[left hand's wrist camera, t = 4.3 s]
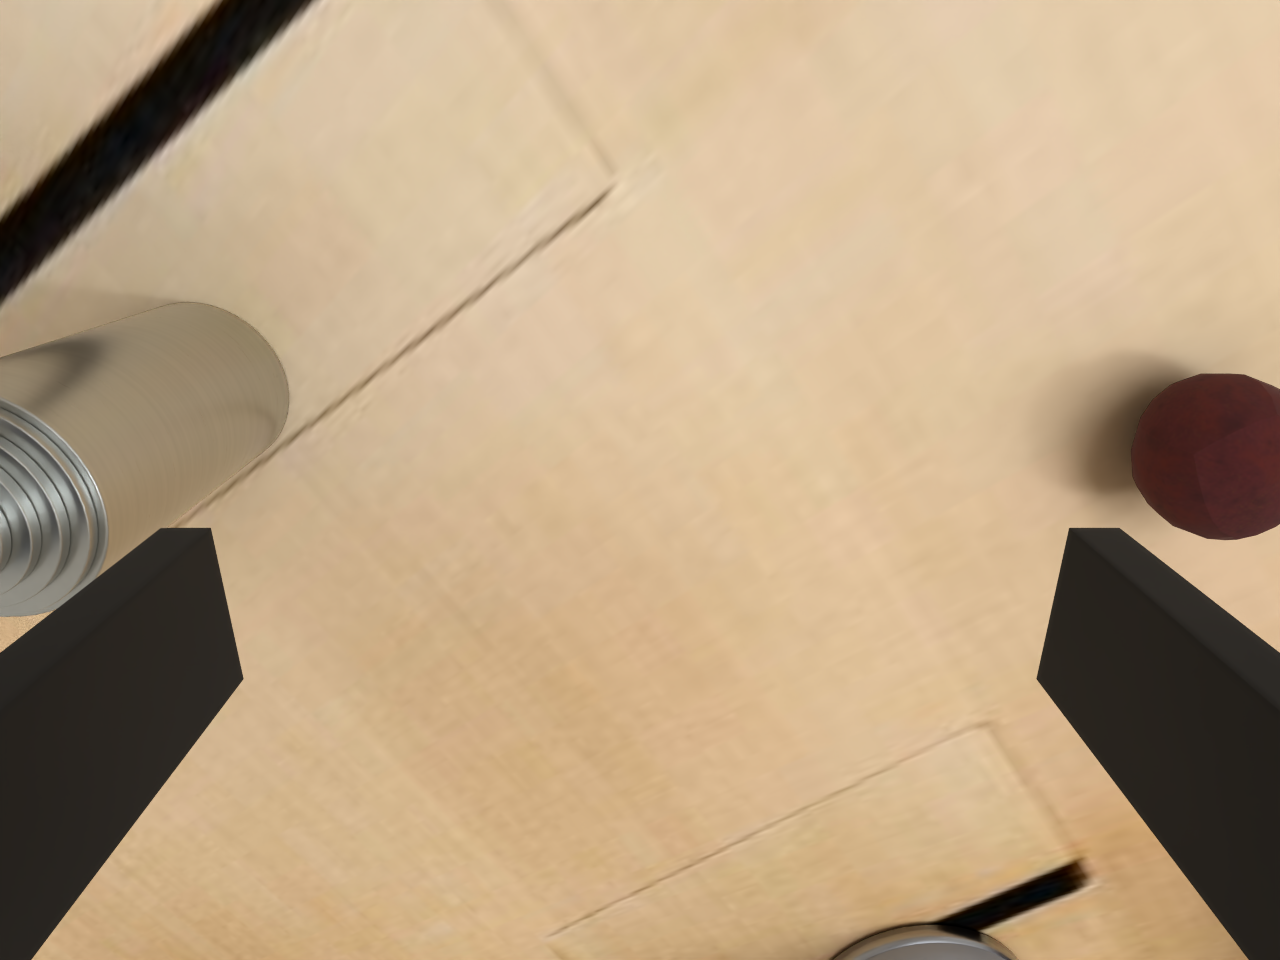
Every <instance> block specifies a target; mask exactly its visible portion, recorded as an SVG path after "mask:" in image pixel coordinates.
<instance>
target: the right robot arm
mask: <svg viewBox="0 0 1280 960" xmlns="http://www.w3.org/2000/svg"><path fill="white" fill-rule="evenodd" d="M834 960H1018V959H1017V957H1016V956H1015V955H1014V954H1013V953H1012V952H1011V951H1010V950H1009V949H1008V948H1006V947H1005V946H1004V945H1003V944H1001V943H1000V942H998V941H996V940H995V939H993V938H991V937H989V936H987V935H984V934H982V933H979V932H976V931H973V930H970V929H965V928H961V927H955V926H947V925H918V926H910V927H903V928H898V929H894V930H890V931H886V932H883V933H880V934H877V935H874V936H872V937H869V938H867V939H865V940H863V941H860V942H859V943H857V944H855V945H853V946H851V947H850V948H848V949H847V950H845V951H844V952H842V953H841V954H840V955H838V956H837V957H836V958H835V959H834Z"/></svg>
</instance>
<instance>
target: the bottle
mask: <svg viewBox="0 0 1280 960" xmlns="http://www.w3.org/2000/svg"><path fill="white" fill-rule="evenodd" d="M288 406H289V392H288V385H287V380H286V377H285V374H284V370H283V368H282V366H281V364H280V361H279V359H278V358H277V356H276V354H275V352H274V351H273V349H272V348H271V347H270V345H269V344H268V343H267V341H266V340H265V339H264V338H263V337H262V336H261V335H260V334H259V333H258V332H257V331H256V330H255V329H254V328H252V327H251V326H250V325H249V324H247V323H246V322H245V321H243V320H242V319H240V318H239V317H237V316H235V315H233V314H231V313H229V312H227V311H225V310H222V309H220V308H217V307H214V306H210V305H206V304H200V303H174V304H169V305H165V306H162V307H158V308H155V309H152V310H149V311H146V312H143V313H140V314H136V315H133V316H130V317H127V318H124V319H121V320H117V321H114V322H111V323H108V324H105V325H102V326H99V327H95V328H92V329H89V330H86V331H83V332H80V333H77V334H73V335H70V336H67V337H64V338H61V339H58V340H55V341H51V342H48V343H45V344H42V345H39V346H36V347H32V348H29V349H26V350H23V351H20V352H17V353H14V354H10V355H7V356H4V357H1V358H0V617H10V616H30V615H37V614H42V613H46V612H50V611H53V610H56V609H57V608H59V607H60V606H61V605H62V604H64V603H65V602H66V601H68V600H69V599H70V598H71V597H73V596H74V595H75V594H77V593H78V592H79V591H80V590H82V589H83V588H84V587H86V586H87V585H88V584H89V583H91V582H92V581H93V580H95V579H96V578H97V577H98V576H100V575H101V574H102V573H104V572H105V571H106V570H107V569H109V568H110V567H111V566H113V565H114V564H115V563H116V562H118V561H119V560H120V559H121V558H123V557H124V556H125V555H127V554H128V553H129V552H130V551H132V550H133V549H134V548H136V547H137V546H138V545H139V544H141V543H142V542H143V541H145V540H146V539H147V538H148V537H150V536H151V535H152V534H154V533H155V532H156V531H157V530H159V529H160V528H167V527H168V526H170V525H171V524H172V523H173V522H175V521H176V520H177V519H179V518H180V517H181V516H182V515H184V514H185V513H186V512H187V511H189V510H190V509H191V508H192V507H194V506H195V505H196V504H198V503H199V502H200V501H201V500H203V499H204V498H205V497H206V496H208V495H209V494H210V493H212V492H213V491H214V490H215V489H217V488H218V487H219V486H220V485H222V484H223V483H224V482H225V481H227V480H228V479H229V478H231V477H232V476H233V475H234V474H236V473H237V472H238V471H239V470H241V469H242V468H243V467H244V466H246V465H247V464H248V463H250V462H251V461H252V460H253V459H255V458H256V457H257V456H258V455H260V454H261V453H262V452H263V451H265V450H266V449H267V448H268V447H270V445H271V444H272V443H273V442H274V441H275V440H276V439H277V437H278V435H279V434H280V432H281V431H282V428H283V426H284V424H285V421H286V417H287V414H288Z"/></svg>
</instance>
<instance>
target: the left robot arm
mask: <svg viewBox="0 0 1280 960" xmlns="http://www.w3.org/2000/svg"><path fill="white" fill-rule="evenodd" d="M242 680H243V675H242V670H241V665H240V661H239V656H238V651H237V647H236V642H235V638H234V633H233V628H232V624H231V619H230V615H229V610H228V605H227V601H226V596H225V591H224V587H223V582H222V578H221V573H220V568H219V564H218V559H217V555H216V550H215V545H214V541H213V536H212V531H211V528H160V529H159V530H157V531H156V532H155V533H154V534H152V535H151V536H150V537H148V538H147V539H146V540H145V541H143V542H142V543H141V544H139V545H138V546H137V547H136V548H134V549H133V550H132V551H130V552H129V553H128V554H127V555H125V556H124V557H123V558H121V559H120V560H119V561H118V562H116V563H115V564H114V565H113V566H111V567H110V568H109V569H107V570H106V571H105V572H104V573H102V574H101V575H100V576H98V577H97V578H96V579H95V580H93V581H92V582H91V583H89V584H88V585H87V586H86V587H84V588H83V589H82V590H80V591H79V592H78V593H77V594H75V595H74V596H73V597H71V598H70V599H69V600H68V601H66V602H65V603H64V604H62V605H61V606H60V607H59V608H57V609H56V610H55V611H53V612H52V613H51V614H50V615H48V616H47V617H46V618H44V619H43V620H42V621H41V622H39V623H38V624H37V625H35V626H34V627H33V628H32V629H30V630H29V631H28V632H26V633H25V634H24V635H23V636H21V637H20V638H19V639H18V640H16V641H15V642H14V643H12V644H11V645H10V646H9V647H7V648H6V649H5V650H3V651H2V652H1V653H0V960H31V959H32V958H33V957H34V955H35V954H36V953H37V951H38V950H39V949H40V947H41V946H42V945H43V943H44V942H45V941H46V939H47V938H48V937H49V935H50V934H51V933H52V932H53V930H54V929H55V928H56V926H57V925H58V924H59V922H60V921H61V920H62V918H63V917H64V916H65V914H66V913H67V912H68V910H69V909H70V908H71V906H72V905H73V904H74V902H75V901H76V900H77V898H78V897H79V896H80V895H81V893H82V892H83V891H84V889H85V888H86V887H87V885H88V884H89V883H90V881H91V880H92V879H93V877H94V876H95V875H96V873H97V872H98V871H99V869H100V868H101V867H102V865H103V864H104V863H105V861H106V860H107V859H108V857H109V856H110V855H111V854H112V852H113V851H114V850H115V848H116V847H117V846H118V844H119V843H120V842H121V840H122V839H123V838H124V836H125V835H126V834H127V832H128V831H129V830H130V828H131V827H132V826H133V824H134V823H135V822H136V820H137V819H138V818H139V816H140V815H141V814H142V813H143V811H144V810H145V809H146V807H147V806H148V805H149V803H150V802H151V801H152V799H153V798H154V797H155V795H156V794H157V793H158V791H159V790H160V789H161V787H162V786H163V785H164V783H165V782H166V781H167V779H168V778H169V777H170V775H171V774H172V773H173V772H174V770H175V769H176V768H177V766H178V765H179V764H180V762H181V761H182V760H183V758H184V757H185V756H186V754H187V753H188V752H189V750H190V749H191V748H192V746H193V745H194V744H195V742H196V741H197V740H198V738H199V737H200V736H201V734H202V733H203V732H204V731H205V729H206V728H207V727H208V725H209V724H210V723H211V721H212V720H213V719H214V717H215V716H216V715H217V713H218V712H219V711H220V709H221V708H222V707H223V705H224V704H225V703H226V701H227V700H228V699H229V697H230V696H231V695H232V693H233V692H234V691H235V690H236V688H237V687H238V686H239V684H240V683H241V682H242ZM1037 680H1038V682H1039V683H1040V684H1041V686H1042V687H1043V688H1044V690H1045V691H1046V692H1047V693H1048V695H1049V696H1050V697H1051V699H1052V700H1053V701H1054V703H1055V704H1056V705H1057V707H1058V708H1059V709H1060V711H1061V712H1062V713H1063V715H1064V716H1065V717H1066V719H1067V720H1068V721H1069V723H1070V724H1071V725H1072V727H1073V728H1074V729H1075V731H1076V732H1077V733H1078V734H1079V736H1080V737H1081V738H1082V740H1083V741H1084V742H1085V744H1086V745H1087V746H1088V748H1089V749H1090V750H1091V752H1092V753H1093V754H1094V756H1095V757H1096V758H1097V760H1098V761H1099V762H1100V764H1101V765H1102V766H1103V768H1104V769H1105V770H1106V772H1107V773H1108V774H1109V775H1110V777H1111V778H1112V779H1113V781H1114V782H1115V783H1116V785H1117V786H1118V787H1119V789H1120V790H1121V791H1122V793H1123V794H1124V795H1125V797H1126V798H1127V799H1128V801H1129V802H1130V803H1131V805H1132V806H1133V807H1134V809H1135V810H1136V811H1137V813H1138V814H1139V815H1140V816H1141V818H1142V819H1143V820H1144V822H1145V823H1146V824H1147V826H1148V827H1149V828H1150V830H1151V831H1152V832H1153V834H1154V835H1155V836H1156V838H1157V839H1158V840H1159V842H1160V843H1161V844H1162V846H1163V847H1164V848H1165V850H1166V851H1167V852H1168V854H1169V855H1170V856H1171V857H1172V859H1173V860H1174V861H1175V863H1176V864H1177V865H1178V867H1179V868H1180V869H1181V871H1182V872H1183V873H1184V875H1185V876H1186V877H1187V879H1188V880H1189V881H1190V883H1191V884H1192V885H1193V887H1194V888H1195V889H1196V891H1197V892H1198V893H1199V895H1200V896H1201V897H1202V898H1203V900H1204V901H1205V902H1206V904H1207V905H1208V906H1209V908H1210V909H1211V910H1212V912H1213V913H1214V914H1215V916H1216V917H1217V918H1218V920H1219V921H1220V922H1221V924H1222V925H1223V926H1224V928H1225V929H1226V930H1227V932H1228V933H1229V934H1230V936H1231V937H1232V938H1233V939H1234V941H1235V942H1236V943H1237V945H1238V946H1239V947H1240V949H1241V950H1242V951H1243V953H1244V954H1245V955H1246V957H1247V958H1248V959H1249V960H1280V653H1279V652H1278V651H1277V650H1275V649H1274V648H1273V647H1271V646H1270V645H1269V644H1268V643H1266V642H1265V641H1264V640H1262V639H1261V638H1260V637H1259V636H1257V635H1256V634H1255V633H1254V632H1252V631H1251V630H1250V629H1248V628H1247V627H1246V626H1245V625H1243V624H1242V623H1241V622H1239V621H1238V620H1237V619H1236V618H1234V617H1233V616H1232V615H1230V614H1229V613H1228V612H1227V611H1225V610H1224V609H1223V608H1221V607H1220V606H1219V605H1218V604H1216V603H1215V602H1214V601H1212V600H1211V599H1210V598H1209V597H1207V596H1206V595H1205V594H1203V593H1202V592H1201V591H1200V590H1198V589H1197V588H1196V587H1194V586H1193V585H1192V584H1191V583H1189V582H1188V581H1187V580H1185V579H1184V578H1183V577H1182V576H1180V575H1179V574H1178V573H1176V572H1175V571H1174V570H1173V569H1171V568H1170V567H1169V566H1167V565H1166V564H1165V563H1164V562H1162V561H1161V560H1160V559H1159V558H1157V557H1156V556H1155V555H1153V554H1152V553H1151V552H1150V551H1148V550H1147V549H1146V548H1144V547H1143V546H1142V545H1141V544H1139V543H1138V542H1137V541H1135V540H1134V539H1133V538H1132V537H1130V536H1129V535H1128V534H1126V533H1125V532H1124V531H1123V530H1121V529H1120V528H1069V531H1068V536H1067V541H1066V545H1065V550H1064V555H1063V559H1062V564H1061V568H1060V573H1059V578H1058V582H1057V587H1056V591H1055V596H1054V601H1053V605H1052V610H1051V615H1050V619H1049V624H1048V628H1047V633H1046V638H1045V642H1044V647H1043V651H1042V656H1041V661H1040V665H1039V670H1038V675H1037Z"/></svg>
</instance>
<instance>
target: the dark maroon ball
mask: <svg viewBox="0 0 1280 960" xmlns="http://www.w3.org/2000/svg"><path fill="white" fill-rule="evenodd" d="M1131 458H1132V473H1133V479H1134V481H1135V483H1136V485H1137V487H1138V489H1139V490H1140V492H1141V494H1142V495H1143V497H1144V498H1145V500H1146V501H1147V503H1148V504H1149V505H1150V506H1151V507H1152V508H1153V509H1154V510H1155V511H1156V512H1157V513H1158V514H1159V515H1161V516H1162V517H1163V518H1164V519H1165V520H1167V521H1168V522H1169V523H1170V524H1171V525H1172V526H1175V527H1177V528H1180V529H1183V530H1185V531H1188V532H1191V533H1193V534H1196V535H1199V536H1201V537H1204V538H1207V539H1218V540H1237V539H1241V538H1246V537H1250V536H1255V535H1258V534H1260V533H1263V532H1265V531H1267V530H1270V529H1272V528H1274V527H1276V526H1278V525H1279V524H1280V389H1278V388H1276V387H1274V386H1272V385H1269V384H1267V383H1264V382H1262V381H1259V380H1257V379H1254V378H1252V377H1249V376H1247V375H1242V374H1199V375H1196V376H1193V377H1190V378H1187V379H1185V380H1182V381H1179V382H1176V383H1174V384H1172V385H1170V386H1169V387H1167V388H1166V389H1165V390H1164V391H1162V392H1161V393H1160V394H1159V395H1157V396H1156V397H1155V398H1154V399H1153V400H1152V401H1151V403H1150V404H1149V406H1148V407H1147V409H1146V410H1145V412H1144V413H1143V415H1142V416H1141V418H1140V421H1139V425H1138V428H1137V431H1136V435H1135V438H1134V441H1133V445H1132V449H1131Z"/></svg>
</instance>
